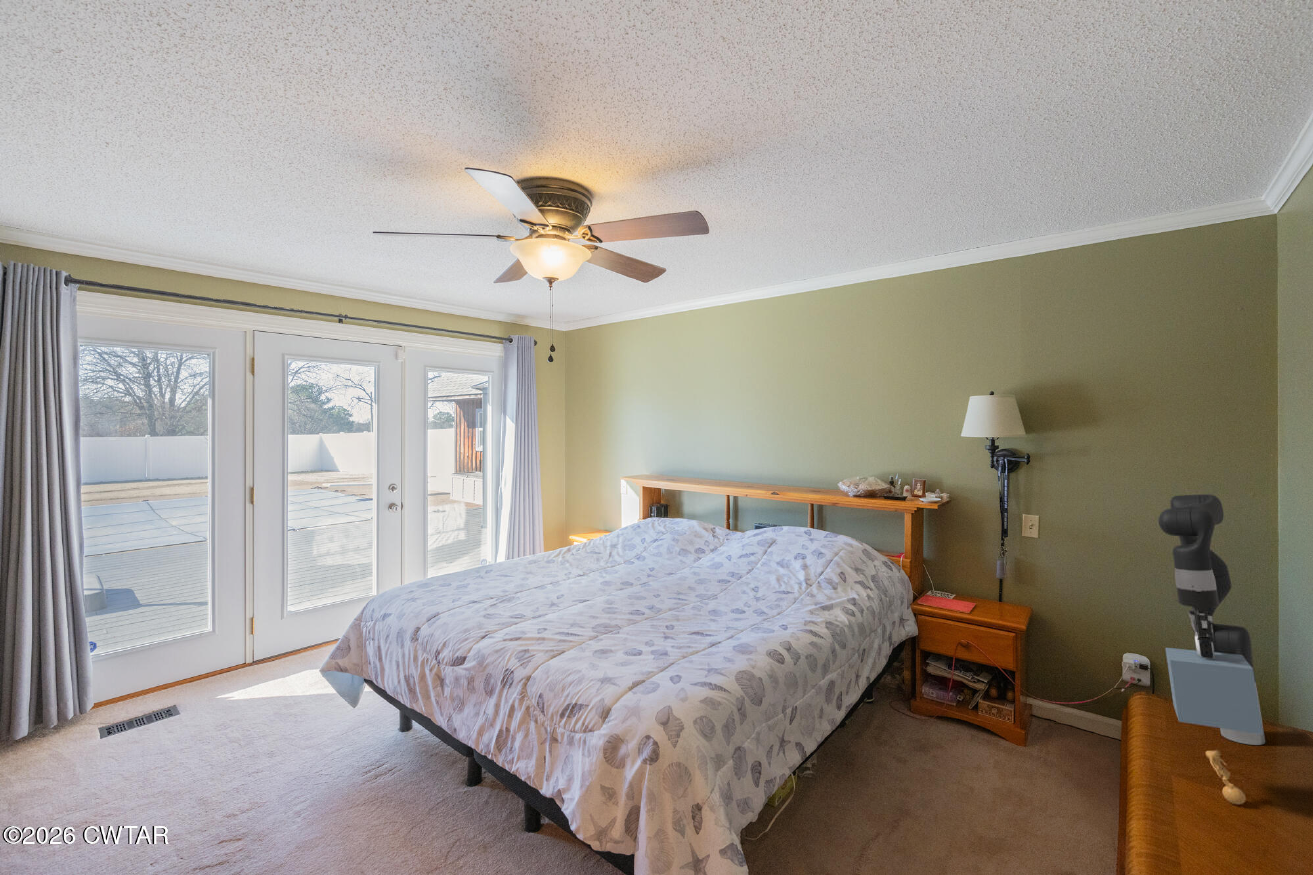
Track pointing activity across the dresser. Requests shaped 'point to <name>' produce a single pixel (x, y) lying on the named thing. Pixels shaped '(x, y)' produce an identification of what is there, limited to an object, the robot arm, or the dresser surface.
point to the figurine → (1225, 779)
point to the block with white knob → (1214, 690)
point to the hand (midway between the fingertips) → (1205, 654)
